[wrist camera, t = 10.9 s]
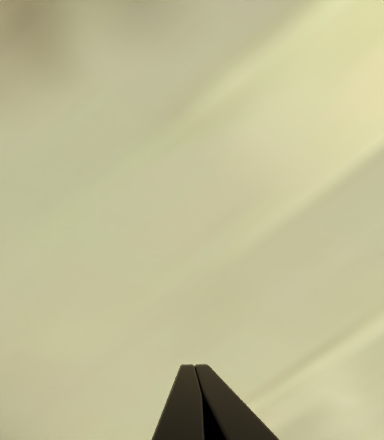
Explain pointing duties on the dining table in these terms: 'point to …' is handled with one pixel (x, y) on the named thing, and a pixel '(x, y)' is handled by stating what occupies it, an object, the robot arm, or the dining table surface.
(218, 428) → the robot arm
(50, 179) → the dining table surface
